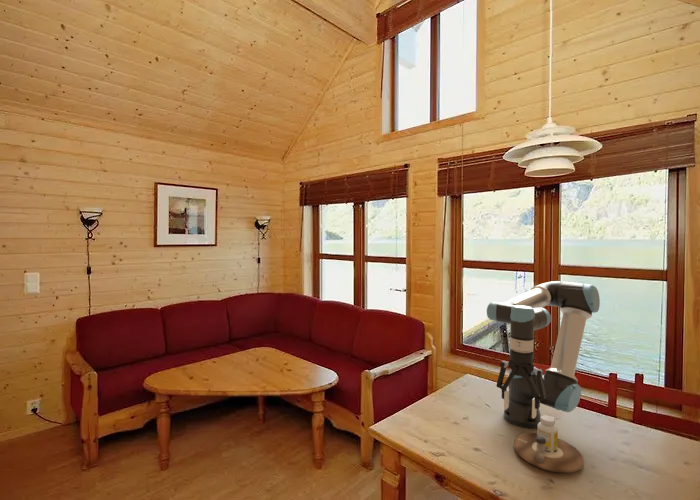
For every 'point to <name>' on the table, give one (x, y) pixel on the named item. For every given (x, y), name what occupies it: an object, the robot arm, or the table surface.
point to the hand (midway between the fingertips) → (519, 412)
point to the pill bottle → (548, 433)
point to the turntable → (560, 461)
